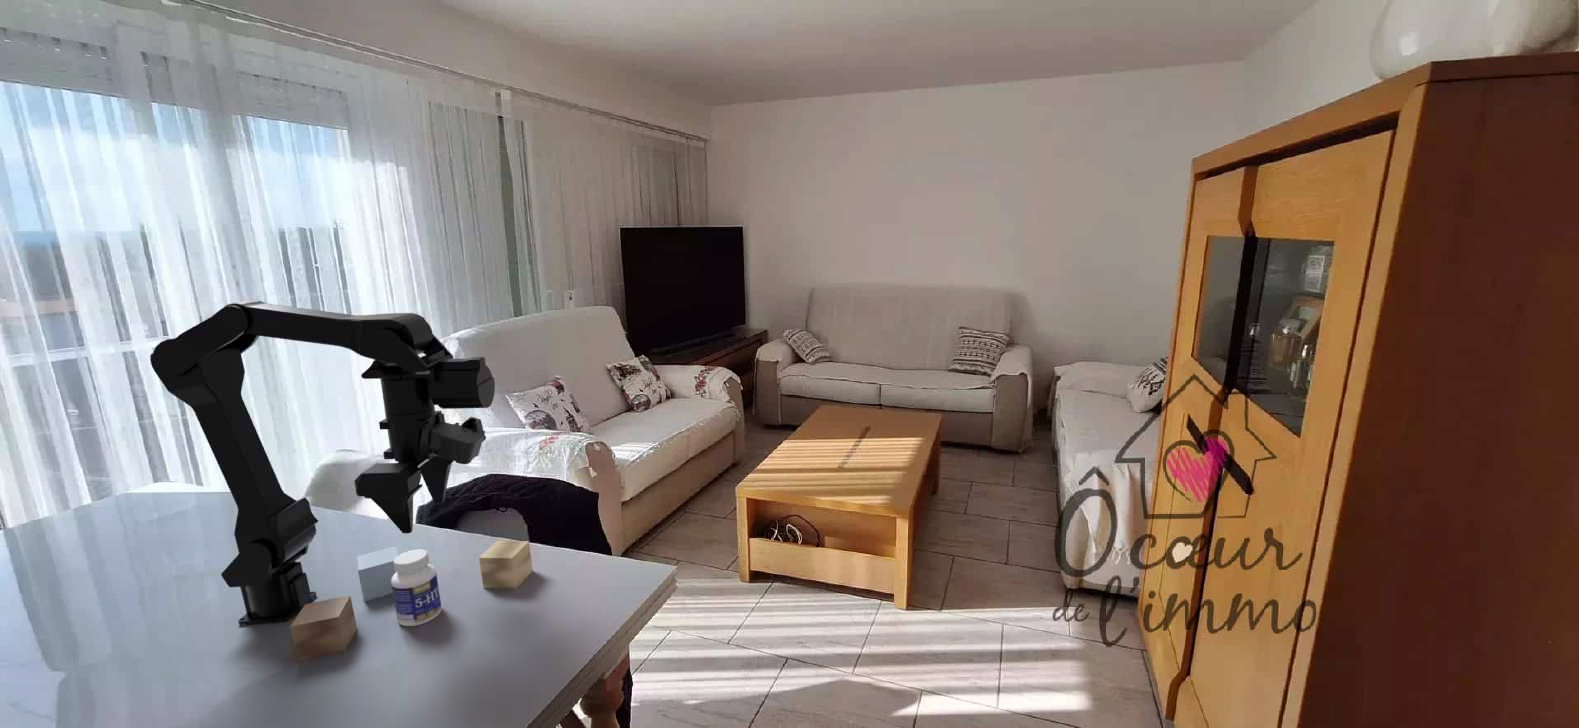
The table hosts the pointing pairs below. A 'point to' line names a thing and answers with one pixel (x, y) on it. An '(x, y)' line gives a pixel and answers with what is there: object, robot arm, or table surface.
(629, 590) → the table surface
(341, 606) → the walnut block
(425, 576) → the pill bottle
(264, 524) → the robot arm
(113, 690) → the table surface
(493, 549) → the oak block
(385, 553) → the slate block
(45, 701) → the table surface
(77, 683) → the table surface
